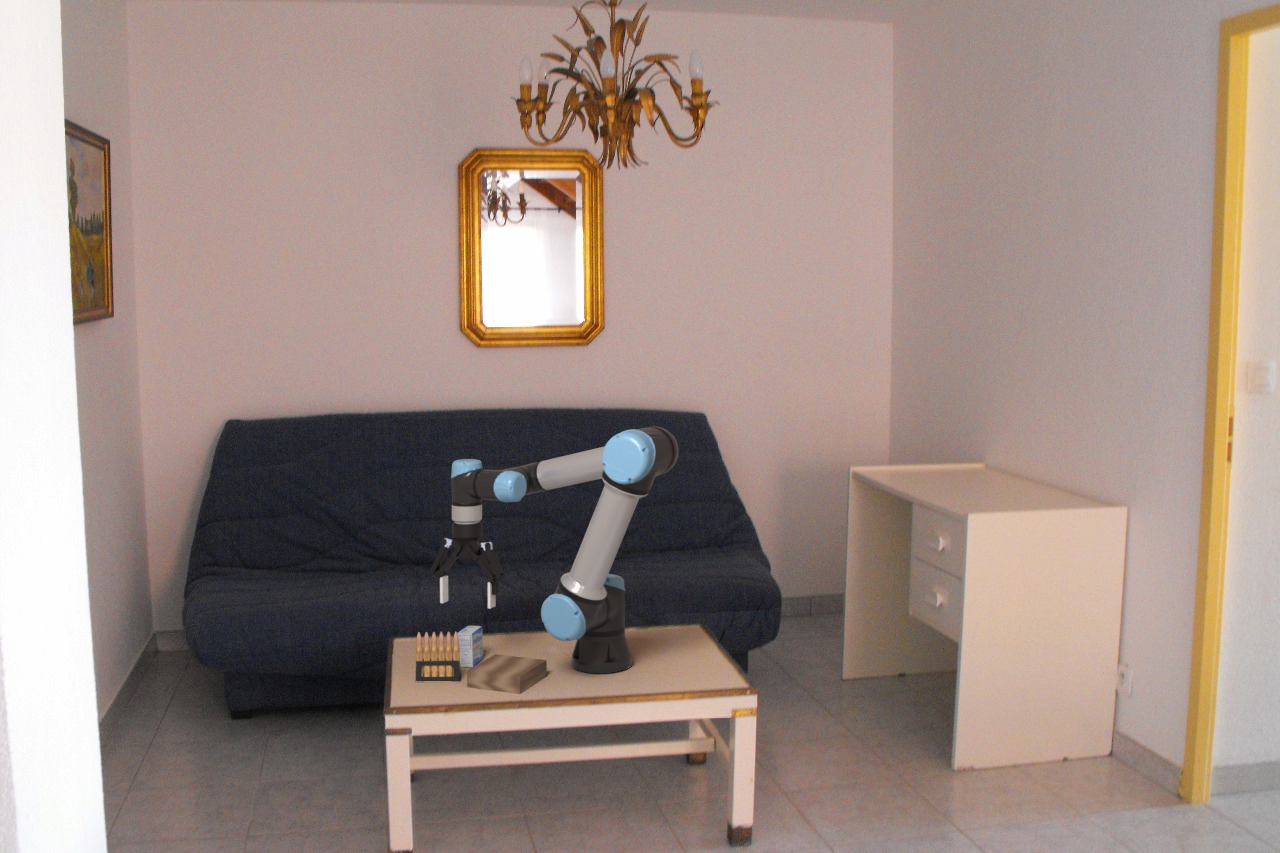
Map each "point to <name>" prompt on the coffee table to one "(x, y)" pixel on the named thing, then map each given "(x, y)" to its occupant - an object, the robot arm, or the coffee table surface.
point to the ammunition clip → (438, 659)
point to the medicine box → (470, 646)
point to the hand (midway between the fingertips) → (467, 604)
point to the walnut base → (506, 673)
